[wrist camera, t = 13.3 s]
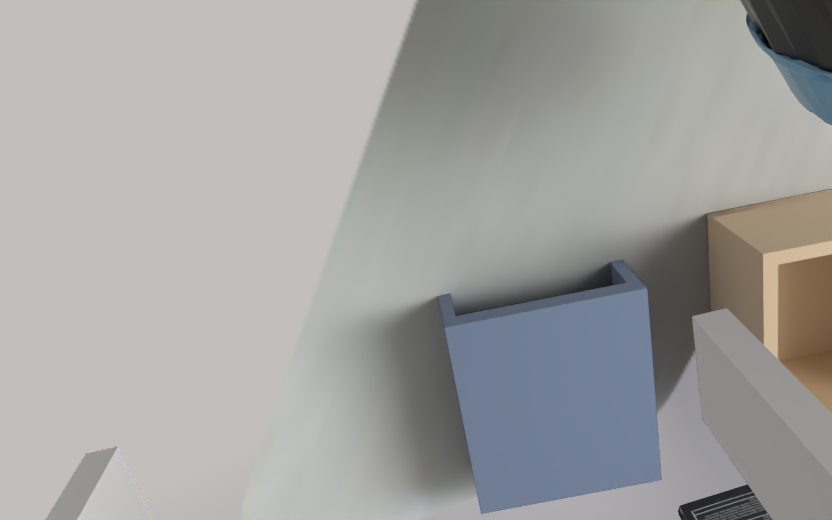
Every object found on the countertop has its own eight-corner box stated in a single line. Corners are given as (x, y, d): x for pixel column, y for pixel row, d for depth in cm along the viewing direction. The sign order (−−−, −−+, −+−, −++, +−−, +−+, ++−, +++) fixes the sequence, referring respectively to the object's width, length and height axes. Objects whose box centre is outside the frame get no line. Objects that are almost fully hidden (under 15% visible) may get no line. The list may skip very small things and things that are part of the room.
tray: (707, 213, 45) (763, 254, 38) (850, 185, 45) (930, 221, 38) (713, 376, 49) (764, 437, 43) (843, 351, 49) (914, 408, 43)
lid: (438, 295, 46) (444, 327, 42) (622, 258, 46) (647, 288, 42) (472, 469, 51) (481, 513, 47) (637, 437, 51) (661, 479, 47)
